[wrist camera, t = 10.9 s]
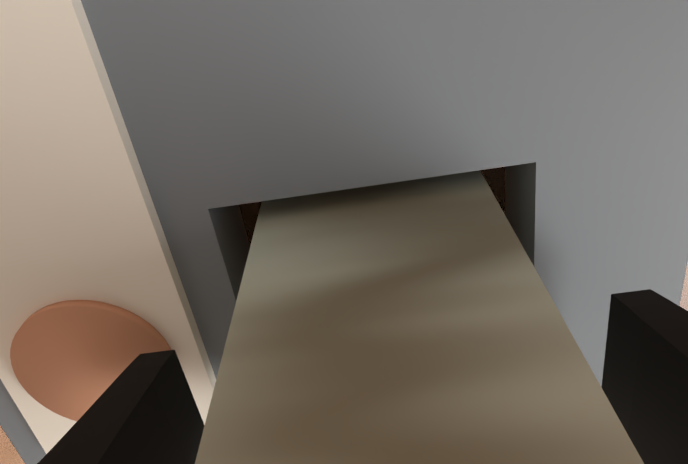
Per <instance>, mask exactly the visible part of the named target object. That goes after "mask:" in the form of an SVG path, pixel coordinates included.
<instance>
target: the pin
mask: <svg viewBox="0 0 688 464" xmlns="http://www.w3.org/2000/svg"><path fill="white" fill-rule="evenodd" d="M195 464H644V463H643V461H642V459H641V457H640V456H639V454H638V452H637V450H636V448H635V447H634V445H633V443H632V441H631V440H630V438H629V436H628V434H627V432H626V431H625V429H624V427H623V425H622V423H621V422H620V420H619V418H618V416H617V414H616V413H615V411H614V409H613V407H612V405H611V404H610V402H609V400H608V398H607V397H606V395H605V393H604V391H603V389H602V388H601V386H600V384H599V382H598V380H597V379H596V377H595V375H594V373H593V371H592V370H591V368H590V366H589V364H588V363H587V361H586V359H585V357H584V355H583V354H582V352H581V350H580V348H579V346H578V345H577V343H576V341H575V339H574V337H573V336H572V334H571V332H570V330H569V329H568V327H567V325H566V323H565V321H564V320H563V318H562V316H561V314H560V312H559V311H558V309H557V307H556V305H555V303H554V302H553V300H552V298H551V296H550V295H549V293H548V291H547V289H546V287H545V286H544V284H543V282H542V280H541V278H540V277H539V275H538V273H537V271H536V269H535V268H534V266H533V264H532V262H531V261H530V259H529V257H528V255H527V253H526V252H525V250H524V248H523V246H522V244H521V243H520V241H519V239H518V237H517V235H516V234H515V232H514V230H513V228H512V227H511V225H510V223H509V221H508V219H507V218H506V216H505V214H504V212H503V210H502V209H501V207H500V205H499V203H498V201H497V200H496V198H495V196H494V194H493V192H492V191H491V189H490V187H489V185H488V184H487V182H486V180H485V178H484V176H483V175H482V173H481V171H480V170H478V171H471V172H464V173H457V174H450V175H443V176H436V177H429V178H422V179H415V180H408V181H401V182H394V183H387V184H380V185H373V186H366V187H359V188H352V189H345V190H338V191H331V192H324V193H317V194H310V195H303V196H296V197H289V198H282V199H275V200H268V201H262V202H261V206H260V210H259V214H258V218H257V222H256V226H255V230H254V234H253V238H252V241H251V245H250V249H249V253H248V257H247V261H246V265H245V269H244V273H243V277H242V281H241V285H240V288H239V292H238V296H237V300H236V304H235V308H234V312H233V316H232V320H231V324H230V328H229V332H228V336H227V339H226V343H225V347H224V351H223V355H222V359H221V363H220V367H219V371H218V375H217V379H216V383H215V387H214V390H213V394H212V398H211V402H210V406H209V410H208V414H207V418H206V422H205V426H204V430H203V434H202V437H201V441H200V445H199V449H198V453H197V457H196V461H195Z"/></svg>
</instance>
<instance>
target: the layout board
mask: <svg viewBox="0 0 688 464" xmlns="http://www.w3.org/2000/svg"><path fill="white" fill-rule="evenodd" d="M499 167H505V216H506V218H507V219H508V221H509V223H510V225H511V227H512V228H513V230H514V232H515V234H516V235H517V237H518V239H519V241H520V243H521V244H522V246H523V248H524V250H525V252H526V253H527V255H528V257H529V259H530V261H531V262H532V264H533V266H534V268H535V269H536V271H537V273H538V275H539V277H540V278H541V280H542V282H543V284H544V286H545V287H546V289H547V291H548V293H549V295H550V296H551V298H552V300H553V302H554V303H555V305H556V307H557V309H558V311H559V312H560V314H561V316H562V318H563V320H564V321H565V323H566V325H567V327H568V329H569V330H570V332H571V334H572V336H573V337H574V339H575V341H576V343H577V345H578V346H579V348H580V350H581V352H582V354H583V355H584V357H585V359H586V361H587V363H588V364H589V366H590V368H591V370H592V371H593V373H594V375H595V377H596V379H597V380H598V382H599V384H600V386H601V388H602V378H603V368H604V358H605V349H606V339H607V330H608V320H609V310H610V301H611V294H616V293H624V292H632V291H640V290H647V289H651V290H653V291H654V292H656V293H658V294H660V295H662V296H663V297H665V298H667V299H668V300H670V301H672V302H673V303H675V304H677V305H678V306H679V305H680V300H681V294H682V288H683V283H684V277H685V272H686V266H687V261H688V0H0V426H1V427H2V429H3V430H4V432H5V433H6V435H7V436H8V438H9V439H10V441H11V442H12V444H13V446H14V447H15V449H16V450H17V452H18V453H19V455H20V456H21V458H22V459H23V461H24V462H25V464H37V463H38V462H39V461H40V460H41V459H42V458H43V457H44V456H45V455H46V454H47V453H48V452H49V451H50V450H51V449H52V448H53V447H54V446H55V445H56V444H57V442H58V441H59V440H60V439H61V438H62V437H63V436H64V435H65V434H66V433H67V432H68V431H69V430H70V428H71V427H72V426H73V425H74V424H75V423H76V422H77V421H78V420H79V419H80V418H81V417H82V416H83V415H84V413H85V412H86V411H87V410H88V409H89V408H90V407H91V406H92V405H93V404H94V402H95V401H96V400H97V399H98V398H99V397H100V396H101V395H102V394H103V393H104V392H105V390H106V389H107V388H108V387H109V386H110V385H111V384H112V383H113V382H114V381H115V379H116V378H117V377H118V376H119V375H120V374H121V373H122V372H123V371H124V370H125V369H126V368H127V367H128V366H129V365H130V363H131V362H132V361H133V360H134V359H135V358H136V357H137V356H138V355H139V354H144V353H151V352H159V351H167V350H175V351H176V354H177V357H178V359H179V362H180V364H181V367H182V369H183V372H184V374H185V377H186V379H187V382H188V385H189V387H190V390H191V392H192V395H193V397H194V400H195V402H196V405H197V407H198V410H199V413H200V415H201V418H202V420H203V423H204V425H205V422H206V418H207V414H208V410H209V406H210V402H211V398H212V394H213V390H214V387H215V383H216V379H217V375H218V371H219V367H220V363H221V359H222V355H223V351H224V347H225V343H226V339H227V336H228V332H229V328H230V324H231V320H232V316H233V312H234V308H235V304H236V300H237V296H238V292H239V288H240V285H241V281H242V277H243V273H244V269H245V265H246V261H247V257H248V253H249V249H250V243H249V240H248V236H247V232H246V229H245V225H244V221H243V218H242V214H241V210H240V207H239V205H240V204H247V203H254V202H261V201H268V200H275V199H282V198H289V197H296V196H303V195H310V194H317V193H324V192H331V191H338V190H345V189H352V188H359V187H366V186H373V185H380V184H387V183H394V182H401V181H408V180H415V179H422V178H429V177H436V176H443V175H450V174H457V173H464V172H471V171H478V170H485V169H492V168H499Z"/></svg>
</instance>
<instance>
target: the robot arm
mask: <svg viewBox="0 0 688 464" xmlns="http://www.w3.org/2000/svg"><path fill="white" fill-rule="evenodd" d="M602 389H603V391H604V393H605V395H606V397H607V398H608V400H609V402H610V404H611V405H612V407H613V409H614V411H615V413H616V414H617V416H618V418H619V420H620V422H621V423H622V425H623V427H624V429H625V431H626V432H627V434H628V436H629V438H630V440H631V441H632V443H633V445H634V447H635V448H636V450H637V452H638V454H639V456H640V457H641V459H642V461H643V463H644V464H688V311H686V310H685V309H683V308H682V307H680V306H678V305H677V304H675V303H673V302H672V301H670V300H668V299H667V298H665V297H663V296H662V295H660V294H658V293H656V292H654V291H653V290H651V289H647V290H640V291H632V292H624V293H616V294H611V301H610V310H609V320H608V330H607V339H606V349H605V358H604V368H603V378H602ZM204 426H205V425H204V423H203V420H202V418H201V415H200V413H199V410H198V407H197V405H196V402H195V400H194V397H193V395H192V392H191V390H190V387H189V385H188V382H187V379H186V377H185V374H184V372H183V369H182V367H181V364H180V362H179V359H178V357H177V354H176V351H175V350H167V351H159V352H151V353H144V354H139V355H138V356H137V357H136V358H135V359H134V360H133V361H132V362H131V363H130V365H129V366H128V367H127V368H126V369H125V370H124V371H123V372H122V373H121V374H120V375H119V376H118V377H117V378H116V379H115V381H114V382H113V383H112V384H111V385H110V386H109V387H108V388H107V389H106V390H105V392H104V393H103V394H102V395H101V396H100V397H99V398H98V399H97V400H96V401H95V402H94V404H93V405H92V406H91V407H90V408H89V409H88V410H87V411H86V412H85V413H84V415H83V416H82V417H81V418H80V419H79V420H78V421H77V422H76V423H75V424H74V425H73V426H72V427H71V428H70V430H69V431H68V432H67V433H66V434H65V435H64V436H63V437H62V438H61V439H60V440H59V441H58V442H57V444H56V445H55V446H54V447H53V448H52V449H51V450H50V451H49V452H48V453H47V454H46V455H45V456H44V457H43V458H42V459H41V460H40V461H39V462H38V463H37V464H195V461H196V457H197V453H198V449H199V445H200V441H201V437H202V434H203V430H204Z"/></svg>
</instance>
